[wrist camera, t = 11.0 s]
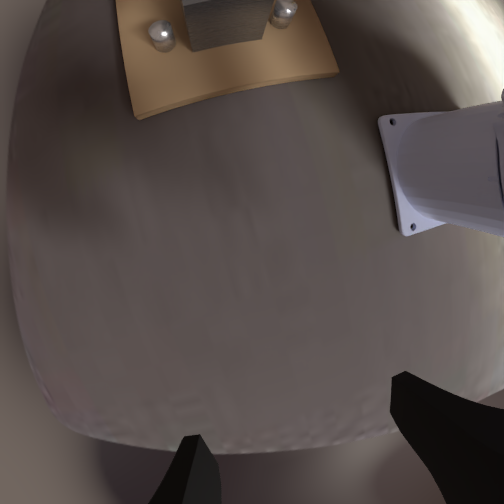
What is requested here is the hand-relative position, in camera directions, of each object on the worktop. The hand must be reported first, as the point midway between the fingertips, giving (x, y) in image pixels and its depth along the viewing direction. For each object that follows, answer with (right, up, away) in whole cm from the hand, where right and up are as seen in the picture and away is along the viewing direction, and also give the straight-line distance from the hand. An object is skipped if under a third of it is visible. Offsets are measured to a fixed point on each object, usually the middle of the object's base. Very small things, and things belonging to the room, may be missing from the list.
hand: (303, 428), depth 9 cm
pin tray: (-4, +22, +4) cm, 23 cm away
